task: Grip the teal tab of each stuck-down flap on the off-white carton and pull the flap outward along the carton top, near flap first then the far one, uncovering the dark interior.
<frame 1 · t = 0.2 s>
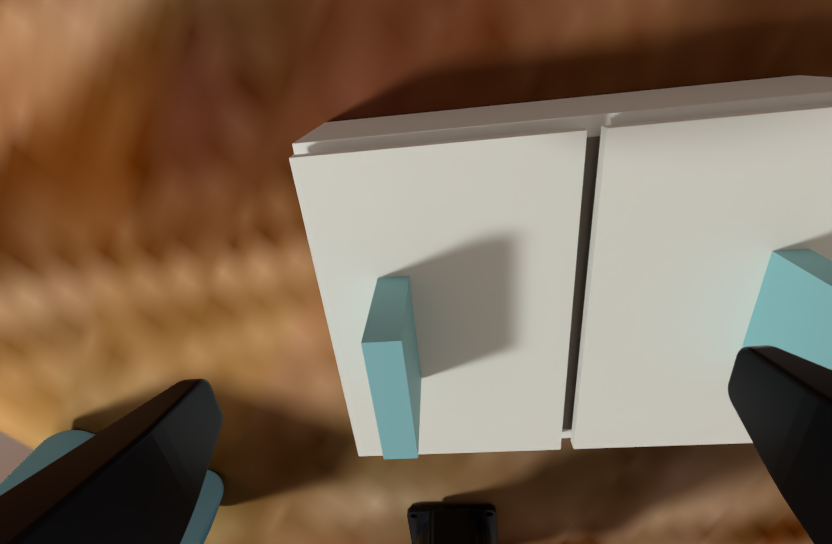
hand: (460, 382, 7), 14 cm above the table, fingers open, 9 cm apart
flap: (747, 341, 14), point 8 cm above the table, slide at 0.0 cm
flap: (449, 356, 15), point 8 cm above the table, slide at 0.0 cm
carton: (544, 256, 22), on the table
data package: (146, 465, 31), on the table
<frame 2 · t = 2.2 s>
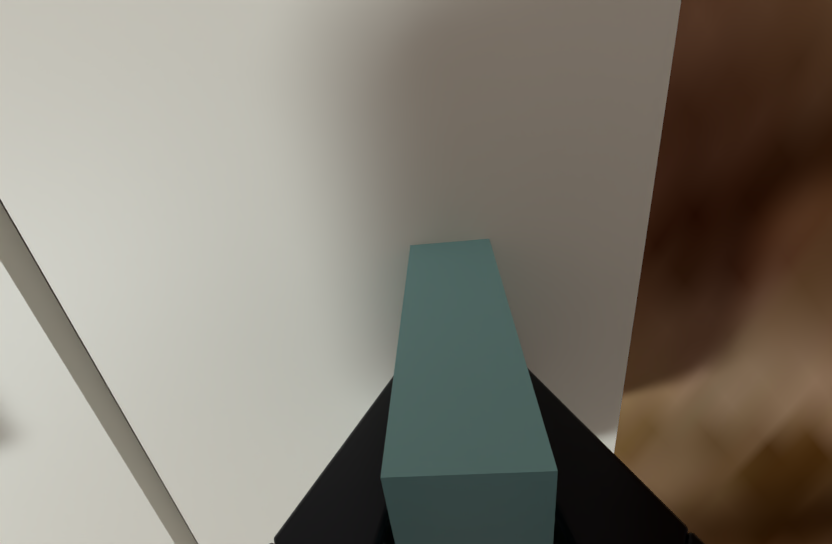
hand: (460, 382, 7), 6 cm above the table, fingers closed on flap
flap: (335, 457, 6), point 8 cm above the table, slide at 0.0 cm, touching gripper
carton: (228, 259, 13), on the table
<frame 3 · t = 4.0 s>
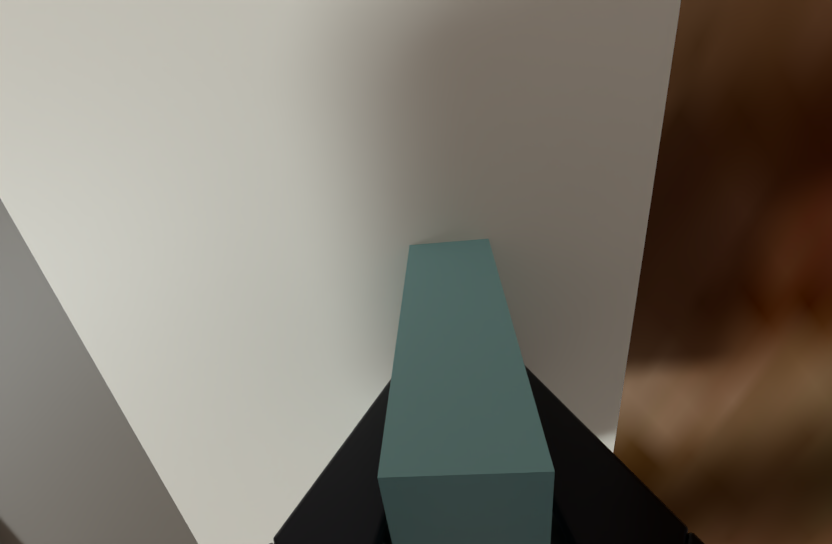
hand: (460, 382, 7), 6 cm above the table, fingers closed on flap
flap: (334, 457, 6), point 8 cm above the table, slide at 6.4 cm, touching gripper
carton: (44, 274, 14), on the table
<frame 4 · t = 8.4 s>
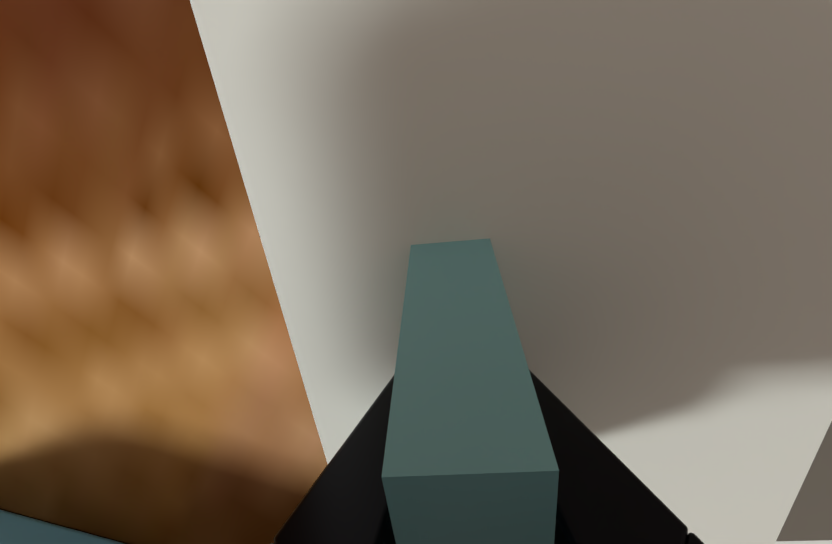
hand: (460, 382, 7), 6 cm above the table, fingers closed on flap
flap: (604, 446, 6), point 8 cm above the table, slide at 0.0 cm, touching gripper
carton: (692, 220, 12), on the table
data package: (59, 543, 22), on the table
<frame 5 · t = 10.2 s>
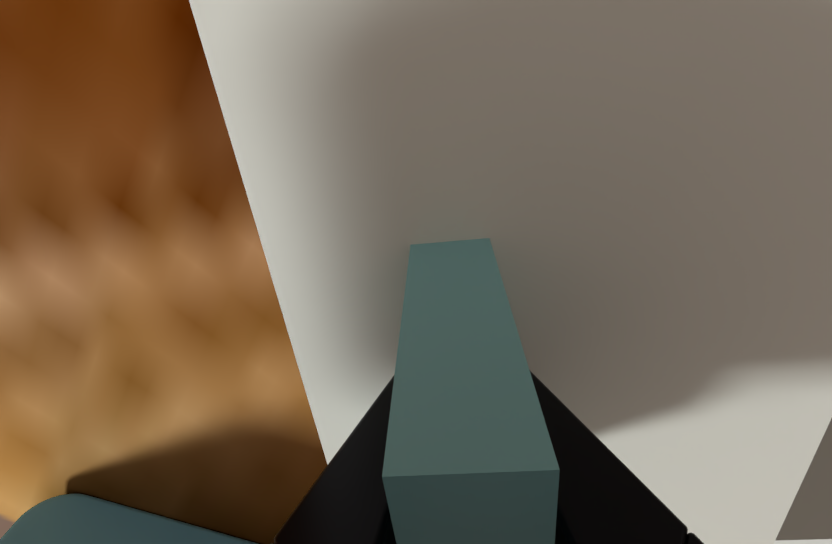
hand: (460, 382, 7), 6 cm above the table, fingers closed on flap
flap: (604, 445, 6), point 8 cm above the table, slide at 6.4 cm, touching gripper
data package: (177, 540, 21), on the table
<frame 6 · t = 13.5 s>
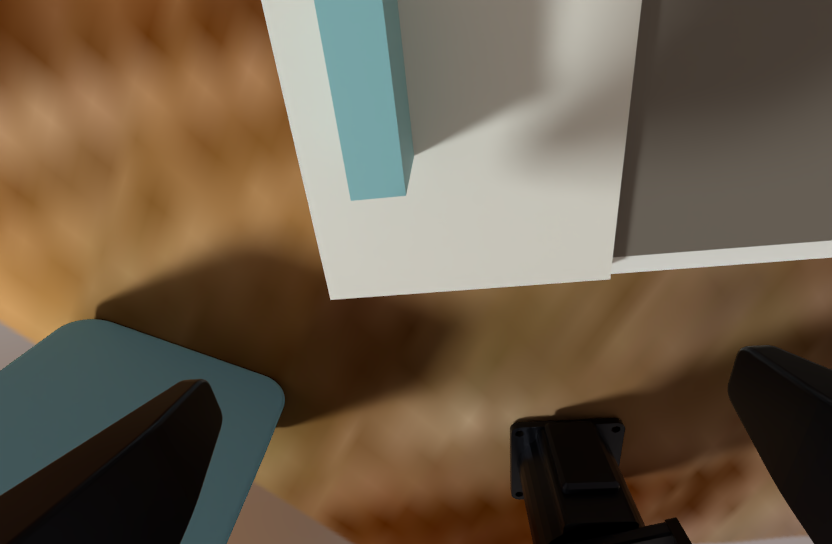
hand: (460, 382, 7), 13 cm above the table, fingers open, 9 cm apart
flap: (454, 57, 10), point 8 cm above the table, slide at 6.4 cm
carton: (758, 18, 16), on the table
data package: (186, 373, 25), on the table
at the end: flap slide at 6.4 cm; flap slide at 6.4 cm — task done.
